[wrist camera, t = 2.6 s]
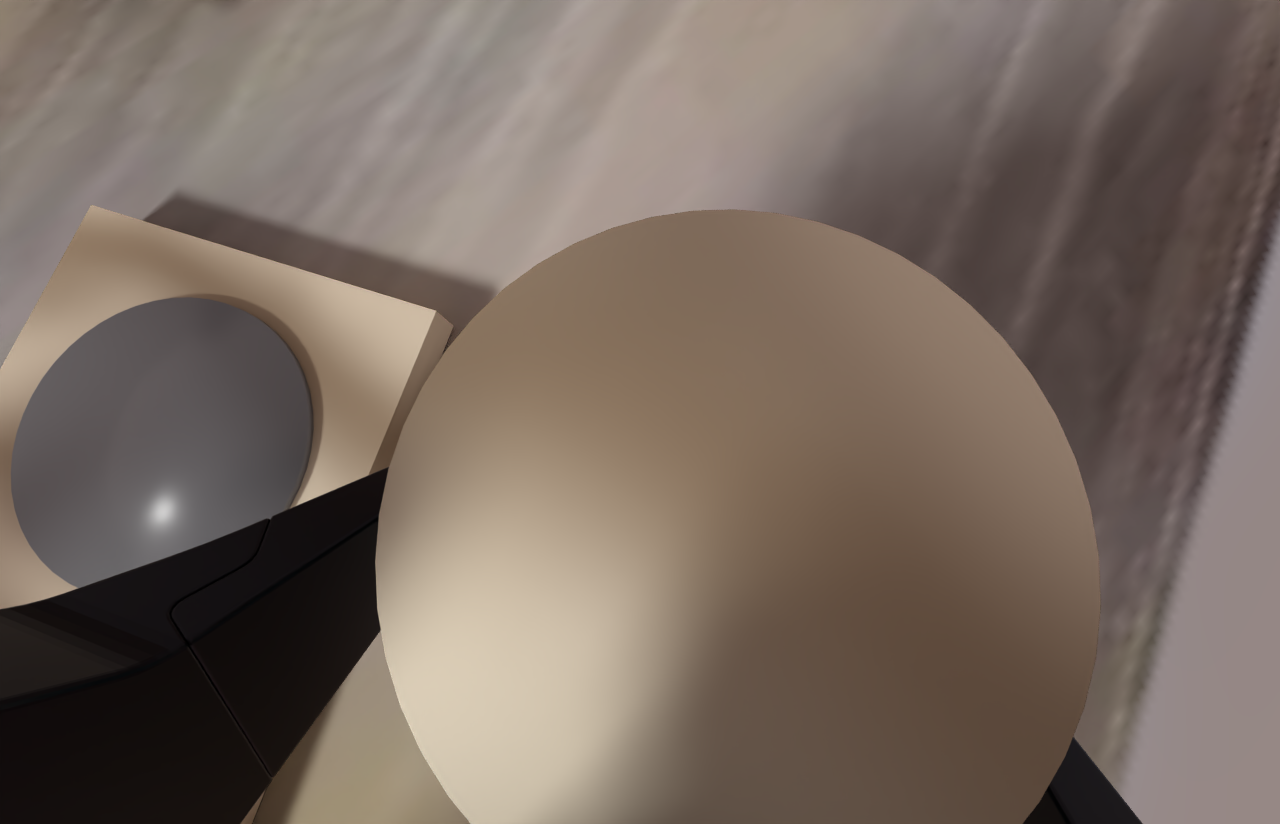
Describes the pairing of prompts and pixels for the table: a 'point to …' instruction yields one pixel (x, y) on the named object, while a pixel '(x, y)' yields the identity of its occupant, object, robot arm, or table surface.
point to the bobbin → (736, 542)
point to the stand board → (188, 401)
